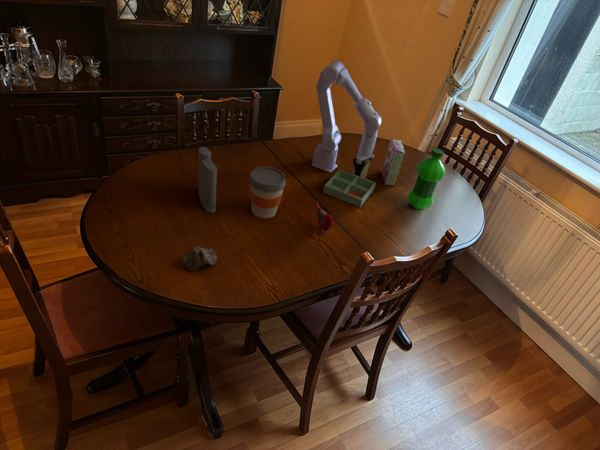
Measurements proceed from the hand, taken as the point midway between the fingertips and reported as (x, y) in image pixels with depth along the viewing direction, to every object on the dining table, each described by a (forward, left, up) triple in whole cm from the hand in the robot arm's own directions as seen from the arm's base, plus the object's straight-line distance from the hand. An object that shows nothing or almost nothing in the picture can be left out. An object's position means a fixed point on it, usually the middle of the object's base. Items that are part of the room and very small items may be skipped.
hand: (360, 171), depth 191 cm
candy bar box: (+11, +7, -3) cm, 13 cm away
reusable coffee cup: (-19, -48, -3) cm, 52 cm away
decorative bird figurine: (+2, -44, -3) cm, 44 cm away
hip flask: (-39, -56, -3) cm, 68 cm away
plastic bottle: (+28, -5, -3) cm, 29 cm away
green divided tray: (+1, -14, -2) cm, 14 cm away
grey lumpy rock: (-20, -84, -3) cm, 86 cm away
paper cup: (0, 0, -2) cm, 2 cm away
